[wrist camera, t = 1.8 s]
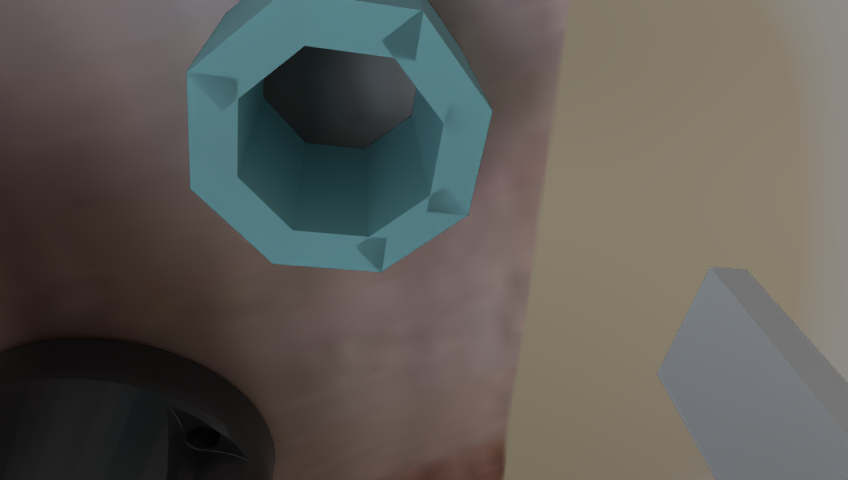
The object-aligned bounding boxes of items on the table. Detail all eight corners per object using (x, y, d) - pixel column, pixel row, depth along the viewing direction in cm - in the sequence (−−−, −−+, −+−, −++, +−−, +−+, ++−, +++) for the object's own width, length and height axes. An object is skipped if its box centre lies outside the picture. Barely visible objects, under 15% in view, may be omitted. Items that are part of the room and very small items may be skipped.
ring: (432, 185, 24) (454, 278, 19) (226, 164, 23) (192, 257, 18) (472, -25, 20) (513, 23, 15) (226, -65, 19) (182, -27, 14)
